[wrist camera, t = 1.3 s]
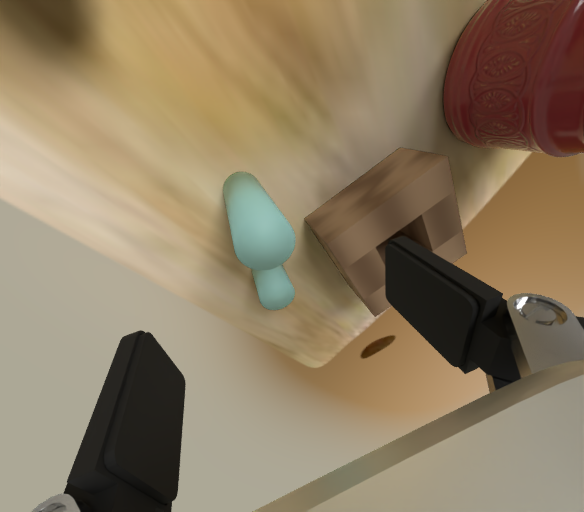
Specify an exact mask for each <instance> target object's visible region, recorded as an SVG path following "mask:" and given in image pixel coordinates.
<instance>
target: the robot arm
mask: <svg viewBox="0 0 584 512" xmlns="http://www.w3.org/2000/svg"><path fill="white" fill-rule="evenodd" d="M385 295H386V299H387V301H388V302H389V303H390V304H391V305H392V306H393V307H394V308H395V309H396V310H397V311H398V312H399V313H400V314H401V315H402V316H403V317H404V318H405V319H406V320H407V321H408V322H409V323H410V324H411V325H412V326H413V327H414V328H415V329H416V330H417V331H418V332H419V333H420V334H421V335H422V336H423V337H424V338H425V339H426V340H427V341H428V342H429V343H430V344H431V345H432V346H433V347H434V348H435V349H436V350H437V351H438V352H439V353H440V354H441V355H442V356H443V357H444V358H445V359H446V360H447V361H448V362H449V363H450V364H451V365H452V366H454V367H459V368H460V369H461V370H462V371H463V372H464V373H465V374H466V373H468V372H470V371H473V370H475V369H477V368H478V367H480V368H481V369H482V370H483V371H484V372H485V373H486V378H487V382H488V387H489V391H490V393H489V394H487V395H485V396H483V397H481V398H479V399H477V400H475V401H473V402H471V403H469V404H467V405H465V406H463V407H461V408H459V409H457V410H455V411H453V412H451V413H449V414H446V415H444V416H443V417H440V418H438V419H437V420H434V421H432V422H430V423H428V424H426V425H424V426H422V427H420V428H418V429H417V430H414V431H412V432H410V433H408V434H406V435H404V436H402V437H400V438H398V439H396V440H394V441H392V442H390V443H388V444H386V445H384V446H382V447H380V448H378V449H376V450H374V451H372V452H370V453H368V454H366V455H364V456H362V457H360V458H358V459H356V460H354V461H352V462H350V463H348V464H346V465H344V466H342V467H340V468H338V469H336V470H334V471H332V472H330V473H328V474H326V475H324V476H322V477H320V478H318V479H316V480H314V481H312V482H310V483H308V484H306V485H304V486H302V487H300V488H298V489H296V490H294V491H292V492H290V493H288V494H287V495H285V496H282V497H281V498H279V499H277V500H275V501H273V502H271V503H269V504H267V505H265V506H263V507H261V508H259V509H257V510H255V511H253V512H584V318H583V317H577V316H575V315H574V314H573V313H572V311H571V310H570V309H569V308H567V307H566V306H564V305H563V304H562V303H560V302H558V301H556V300H553V299H552V298H549V297H545V296H542V295H537V294H530V293H529V294H528V293H521V294H517V295H513V296H512V297H510V298H509V299H508V301H506V300H505V299H503V298H502V295H503V293H501V292H499V291H498V290H496V289H494V288H492V287H491V286H489V285H487V284H486V283H484V282H482V281H481V280H479V279H477V278H475V277H474V276H472V275H470V274H469V273H467V272H465V271H464V270H462V269H460V268H458V267H457V266H455V265H453V264H452V263H450V262H448V261H446V260H445V259H443V258H441V257H440V256H438V255H436V254H435V253H433V252H431V251H429V250H428V249H426V248H424V247H423V246H421V245H419V244H417V243H416V242H414V241H412V240H411V239H409V238H407V237H405V236H401V237H398V238H395V239H392V240H390V241H389V242H388V245H387V246H386V247H385ZM184 398H185V379H184V376H183V375H182V373H181V372H180V371H179V369H178V368H177V367H176V365H175V364H174V363H173V361H172V360H171V359H170V358H169V356H168V355H167V354H166V352H165V351H164V350H163V348H162V347H161V346H160V345H159V343H158V342H157V341H156V339H155V338H154V337H153V335H152V334H151V333H149V332H147V333H145V332H144V331H138V332H135V333H132V334H129V335H127V336H124V337H123V338H122V339H121V341H120V343H119V346H118V348H117V351H116V354H115V356H114V359H113V362H112V364H111V367H110V369H109V372H108V375H107V377H106V380H105V383H104V385H103V388H102V391H101V393H100V396H99V398H98V401H97V404H96V406H95V409H94V412H93V414H92V417H91V419H90V422H89V425H88V427H87V430H86V433H85V435H84V438H83V440H82V443H81V446H80V449H79V451H78V454H77V456H76V459H75V461H74V464H73V467H72V469H71V472H70V475H69V477H68V480H67V482H68V483H67V486H66V488H65V491H64V494H58V495H56V496H53V497H50V498H49V499H47V500H46V501H44V502H43V503H41V504H39V505H38V506H37V507H36V508H35V509H34V510H33V511H32V512H171V507H172V501H173V500H175V498H176V496H177V492H178V481H179V467H180V452H181V438H182V425H183V411H184Z"/></svg>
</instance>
